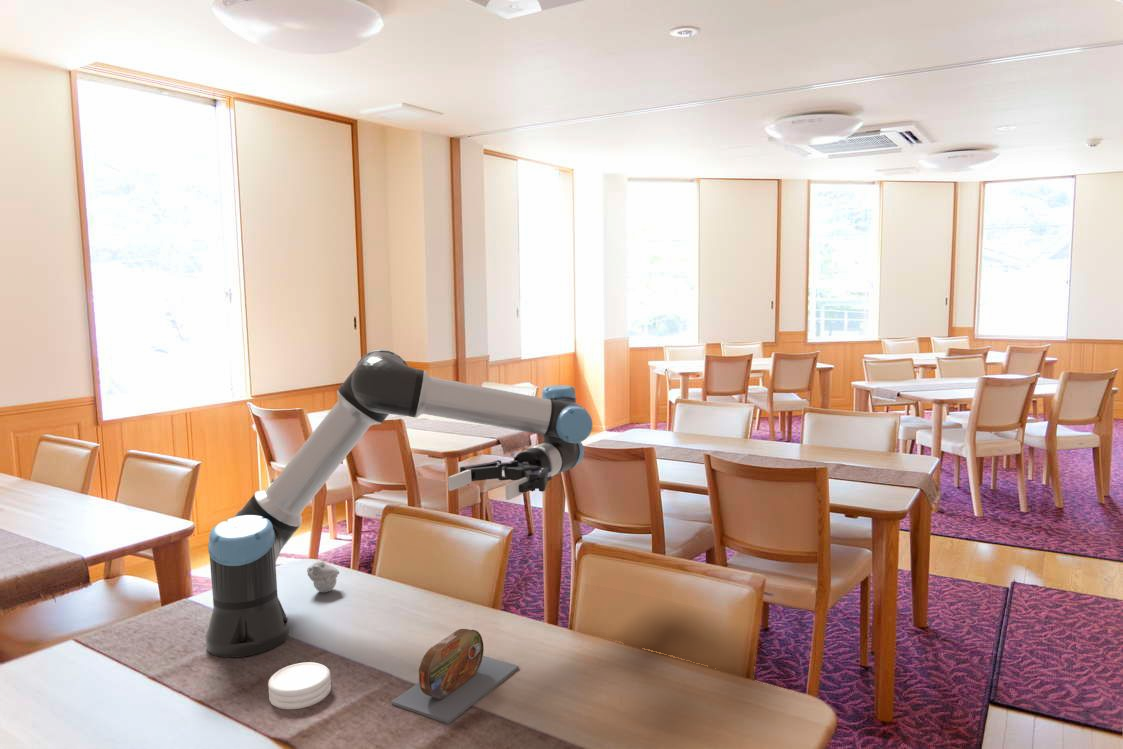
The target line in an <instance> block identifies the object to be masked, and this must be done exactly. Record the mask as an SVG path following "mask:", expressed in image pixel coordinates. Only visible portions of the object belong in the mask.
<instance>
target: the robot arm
mask: <svg viewBox="0 0 1123 749" xmlns="http://www.w3.org/2000/svg"><path fill="white" fill-rule="evenodd" d="M541 391H542V392H541V397H539V396H536V395H535V396H534V395H529V394H524V393H518V392H513V391H507V390H502V389H497V388H491V387H487V386H481V385H475V384H470V383H466V382H459V381H455V380H450V379H449V380H448V379H444V378H439V377H434V376H430V375H429V373H428V372H427V371H426V370H425V369H424V370H423V369H418V368H416V367H415V368H414V367H411V366H409V365H408V364H407V362H406V360H404V359H403V358H402V357H401V356H400V355H398V354H397V353H395V352H393V351H390V350H386V349H385V350H384V349H377V350H373V351H371V352H368V353H366V354H365V355H363V356H361V358H360V359H359V361H358V362H357V364H356V366H355V368H354V369H353V370H352V372H350V374H349V375H348V377H347V378H346V379H345V380H344V381H343V383H342V384H341V385H340V386H339V388H337V390H336V392H337V402H336V403H335V404H334V405H333V407H332V408H331V409H330V410H329V412H328V413H327V414H326V416H324V418H323V420H322V421H320V423H319V425H318V426H317V427H316V428H315V430H313V432H312V433H311V434H310V435H309V437H308V438H307V439H306V441H305V442H304V443H303V444H302V445H301V447H299V449H298V451H297V452H296V453H295V454H294V456H293V457H292V458H291V459H290V460H289V462H288V463H287V465H286V466H285V467H284V468H283V470H281V472H279V474H278V475H277V477H276V478H275V479H274V481H273V482H272V483H271V484H270V486H269V487H268V488H267V489H261V490H257V491H255V493H254V494H253V495H252V496H251V497H250V498H249V500H248V501H247V502H246V504H245V505H244V506H243V508H242V509H240V510H239V511H238V512H237V513H236V514H235V516H233V517H231V518H230V517H229V518H227V519H226V520H225V521H224V520H223V521H221V522H219V523H218V524H216V525H215V526H214V527H213V528H212V529H211V530H210V533H209V536H208V544H207V549H208V555H209V563H210V564H209V565H210V576H211V577H210V578H211V591H212V604H213V607H212V612H211V615H210V619H209V624H208V628H207V631H206V634H205V645H206V650H207V651H208V652H209V653H210V654H212V655H214V656H217V657H220V658H221V657H222V658H242V657H249V656H254V655H258V654H262V653H264V652H268V651H269V650H272V649H274V648H276V647H278V646H280V645H281V644H283V643H284V642H285V641H286V640H287V639H288V638H289V635H290V624H289V622H290V621H289V619H288V616H287V615H286V612H285V610H284V608H283V606H282V603H281V601H280V599H279V596H278V582H277V566H276V565H277V560H278V558H279V555H280V554H281V551H282V549H284V547H285V545H286V544H287V543H288V542H289V540H291V538H292V537H293V536H294V534H296V532H297V531H298V529H299V527H300V526H301V525H302V524H303V516H302V512H304V510H305V509H306V507H308V505H309V504H310V503H311V502H312V500H313V499H314V497H315V496H316V495H317V493H319V491H320V490H321V488H323V486H324V485H325V484H326V483H327V481H328V480H329V479H330V478H331V476H332V475H333V474H334V472H335V471H336V470H337V469H338V467H339V466H340V465H341V463H343V461H344V460H345V459H346V458H347V456H348V455H349V453H350V452H351V451H352V450H353V449H354V447H355V446H356V445H357V443H358V442H359V441H360V440H361V438H362V437H363V436H364V434H366V432H367V431H368V430H369V428H370V427H371V426H373V425H381V424H383V423H384V421H385V420H386V418H387V417H388V416H389V415H395V416H402V417H409V418H415V419H417V418H418V417H420V416H422V415H427V416H433V417H438V418H439V417H440V418H445V419H450V420H451V419H452V420H455V421H462V422H467V423H468V422H469V423H473V424H478V425H479V424H481V425H485V426H490V427H491V426H492V427H497V428H502V429H503V428H504V429H509V430H515V431H519V432H520V431H521V432H526V433H530V434H531V433H532V434H537V435H542V443H540V444H537V445H534V446H532V447H529V448H527V449H523V450H521V451H520V452H518V453H517V454H516V455H515V458H513V460H510V461H507V462H502V460H499V459H498V460H497V459H496V460H494V461H490V462H484V463H478V464H477V463H476V464H472V465H466V466H461V467H459V472H458V473H454V474H451V475H450V476H447V486H448V488H447V490H448V491H449V492H451V491H452V492H453V491H454V490H457V489H460V488H462V487H465V486H469V485H470V484H472V482H476V481H487V480H494V479H495V480H496V479H497V480H499V481H510V480H511V481H512V482H510V483H507V484H505V485H504V486H505V500H508V501H509V500H512V499H514V498H517V497H520V496H521V495H523V494H525V493H527V492H529V491H530V492H534V491H536V489H537V490H538V492H540V493H541V492H544V491H546V489H547V486H548V482H550V481H551V480H552V477H554V476H557V475H559V474H561V473H563V472H567V471H570V470H571V469H573V468H575V467H577V466H578V465H579V464H580V463H581V462H582V461H583V459H584V456H585V448H584V446H583V443H582V442H584V441H586V439H588V437H589V436H590V435H591V433H592V431H593V430H592V429H593V420H592V417H591V414H590V413H589V412H588V410H587V409H586V408H585V407H583V405H579V404H578V403H577V402H576V401H577V397H576V389H575V387H573V386H571V385H563V384H561V385H560V384H557V385H556V384H555V385H548V386H546V387H544V388H542V390H541ZM503 471H504V472H503ZM503 473H504V476H503Z"/></svg>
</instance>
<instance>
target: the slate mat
mask: <svg viewBox="0 0 1123 749" xmlns="http://www.w3.org/2000/svg"><path fill="white" fill-rule="evenodd" d="M517 670H519V665H518V664H513V663H511V662H507V661H504V660H500V659H497V658H493V657H490V656H486V655H483V657H482V661H481V664H480V667H479V669H478V671H477V672H476V674H475V675H474V676H473V677H472V678H470V679H469V680H468V681H466V682H465V683H464V684H462V685H461V686H460V687H458V688H457V689H456V690H455V691H453V692H452V693H451V694H449V695H448V696H447V697H445V698H443V699H436V698H435V697H431V696H428V695H426V694H424V693H423V692H422V690H421V688H420V683H419V682H417V683H416V684H414V685H413V686H411V687H410V688H408V689H406V690H405V691H404V692H402V693H401V694H400V695H399V696H397V697H395V698H394V699H393V700H391V705H392V706H396V707H398V708H401V709H404V710H408V711H410V712H412V713H416V714H419V715H422V716H424V717H427V718H431V719H433V720H436V721H439V722H441V723H445V724H448V725H450V724H451V723H452V722H453V721H454V720H456V719H457V718H458V717H460V716H461V715H462V714H463V713H465V712H466V711H467V710H468V709H470V708H471V707H472V706H473V705H475V704H476V703H477V702H478V701H479V700H481V699H483V697H485V696H486V695H487V694H488V693H490V692H491V691H493V689H495V688H496V687H497V686H498V685H500V684H501V683H502V682H503V681H505V680H506V679H507V678H509V677H510V676H511V675H512V674H513V673H515V672H516V671H517Z"/></svg>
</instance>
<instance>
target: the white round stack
mask: <svg viewBox="0 0 1123 749" xmlns="http://www.w3.org/2000/svg"><path fill="white" fill-rule="evenodd" d="M331 680H332V679H331V671H330V669H329V668H328V667H327V666H325V665H324V664H322V663H318V662H310V661H309V662H305V661H304V662H299V663H293V664H291V665H287V666H284V667H283V668H280V669H279V670H277V671H276V672H275V673H273V674H272V675H271V676H270V678H269V679H268V683H267V687H268V699H269V702H270V704H271V705H272V706H274V707H276V708H278V709H282V710H299V709H300V710H301V709H304V708H308V707H311V706H314V705H316V704H318V703H320V702H321V701H323V700H324V699H325V698H327V696H328V695H329V694H330V692H331V690H332V684H331V683H332V682H331Z"/></svg>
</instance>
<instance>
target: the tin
mask: <svg viewBox="0 0 1123 749" xmlns="http://www.w3.org/2000/svg"><path fill="white" fill-rule="evenodd" d="M483 656H484V641H483V637H482V635H481V633H480V632H479V631H478V630H476V629H468V628H460V629H458V630H456V631H454V632H453V633H451V634H449V635H448V636H447V637H445V638H444V639H442V640H441V641H439V642H438V643H436V644H434V645H433V646H432V647H430V648H429V649H428V650H426V652H425V653H424V655H423V656H422V659H421V662H420V665H419V668H418V681H419V682H418V683H420V688H421V690H422V692H423V693H424V694H426V695H428V696H431V697H435V698H436V699H443V698H445V697H447V696H448V695H449V694H451V693H452V692H453V691H455V690H456V689H457V688H458V687H460V686H461V685H462V684H464V683H465V682H466V681H468V680H469V679H470V678H472V677H473V676H474V675H475V674H476V672H477V671H478V669H479V667H480V664H481V661H482V657H483Z"/></svg>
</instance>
